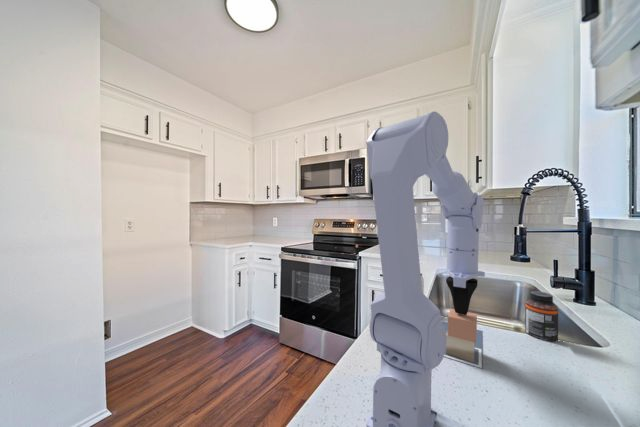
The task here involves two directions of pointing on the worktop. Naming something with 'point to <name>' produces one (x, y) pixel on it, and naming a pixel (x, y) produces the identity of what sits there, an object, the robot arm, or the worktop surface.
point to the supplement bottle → (542, 317)
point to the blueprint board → (477, 353)
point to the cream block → (460, 348)
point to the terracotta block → (462, 325)
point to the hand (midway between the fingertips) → (461, 312)
